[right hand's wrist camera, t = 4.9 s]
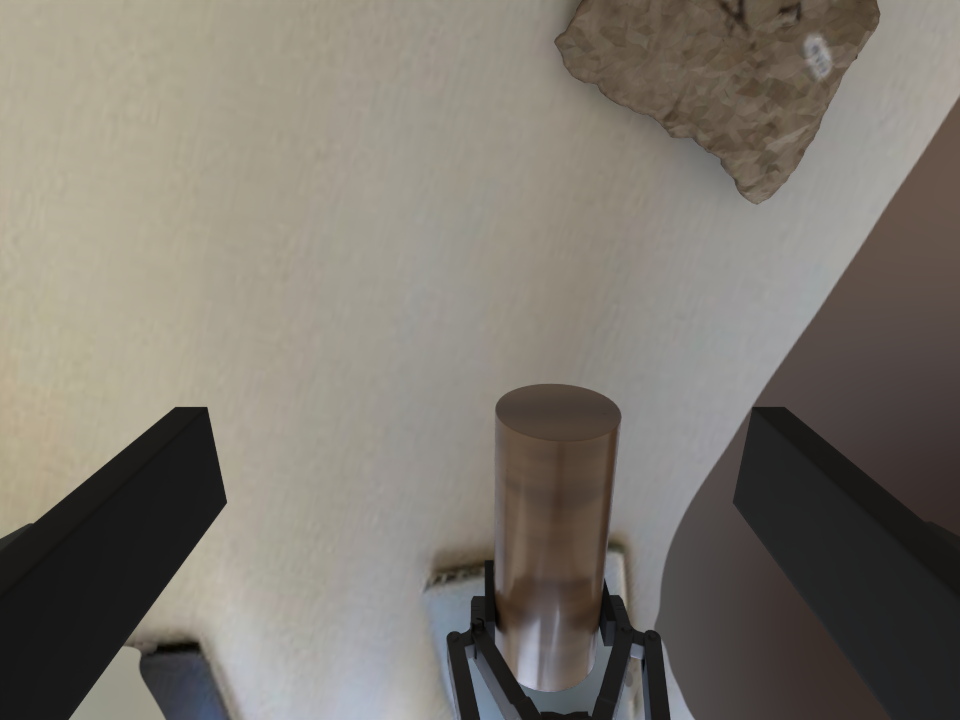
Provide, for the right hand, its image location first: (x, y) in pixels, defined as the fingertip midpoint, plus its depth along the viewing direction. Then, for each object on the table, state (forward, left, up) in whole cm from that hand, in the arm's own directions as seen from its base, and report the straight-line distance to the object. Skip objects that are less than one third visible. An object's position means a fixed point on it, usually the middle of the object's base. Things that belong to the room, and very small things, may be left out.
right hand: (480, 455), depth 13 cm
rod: (+16, +15, -26) cm, 34 cm away
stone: (-21, +8, -36) cm, 42 cm away
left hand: (+22, +19, -26) cm, 38 cm away
